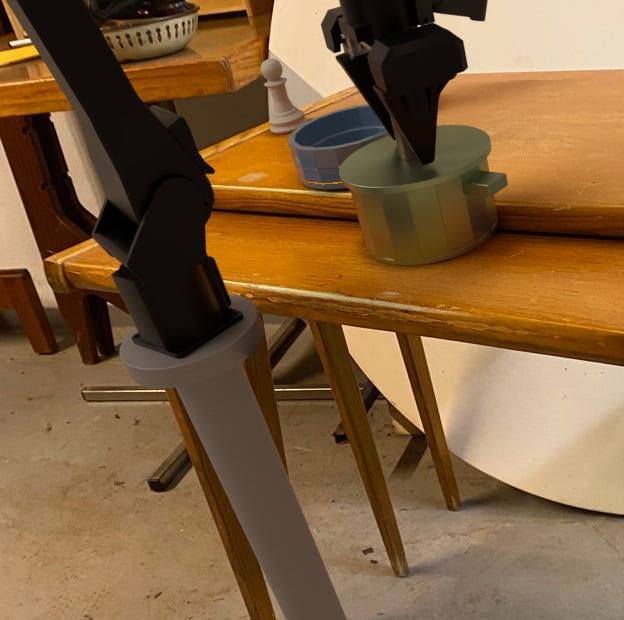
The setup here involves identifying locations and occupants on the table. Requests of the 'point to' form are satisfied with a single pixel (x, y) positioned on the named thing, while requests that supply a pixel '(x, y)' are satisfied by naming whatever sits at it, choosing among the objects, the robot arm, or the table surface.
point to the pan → (332, 143)
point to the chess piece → (281, 100)
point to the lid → (414, 161)
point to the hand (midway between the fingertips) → (413, 150)
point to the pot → (431, 218)
